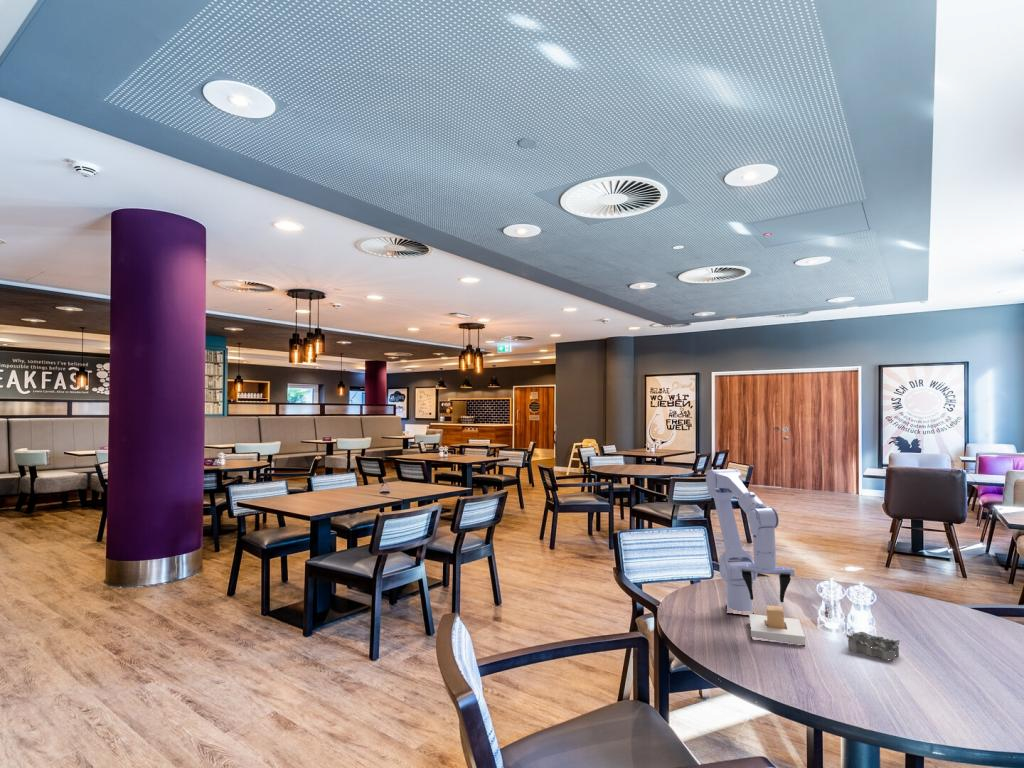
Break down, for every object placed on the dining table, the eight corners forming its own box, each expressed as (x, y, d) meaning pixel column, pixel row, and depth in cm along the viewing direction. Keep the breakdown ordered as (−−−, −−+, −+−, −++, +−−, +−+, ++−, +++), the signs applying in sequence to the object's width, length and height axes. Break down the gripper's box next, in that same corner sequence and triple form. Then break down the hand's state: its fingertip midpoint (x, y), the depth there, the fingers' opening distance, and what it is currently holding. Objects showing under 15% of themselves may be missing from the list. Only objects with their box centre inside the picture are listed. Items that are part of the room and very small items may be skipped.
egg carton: (844, 650, 142) (843, 634, 143) (856, 642, 147) (855, 626, 147) (892, 664, 134) (891, 646, 134) (903, 655, 139) (901, 638, 139)
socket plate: (749, 622, 161) (749, 614, 162) (799, 628, 157) (798, 619, 157) (751, 639, 149) (751, 630, 149) (805, 646, 145) (804, 636, 145)
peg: (767, 630, 156) (766, 605, 156) (783, 632, 154) (782, 606, 155) (768, 635, 152) (767, 610, 152) (784, 637, 150) (783, 611, 151)
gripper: (737, 552, 154) (739, 601, 154) (794, 556, 149) (797, 607, 148) (736, 546, 161) (738, 593, 160) (791, 550, 156) (794, 598, 155)
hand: (766, 599), depth 155 cm, fingers open, 7 cm apart
